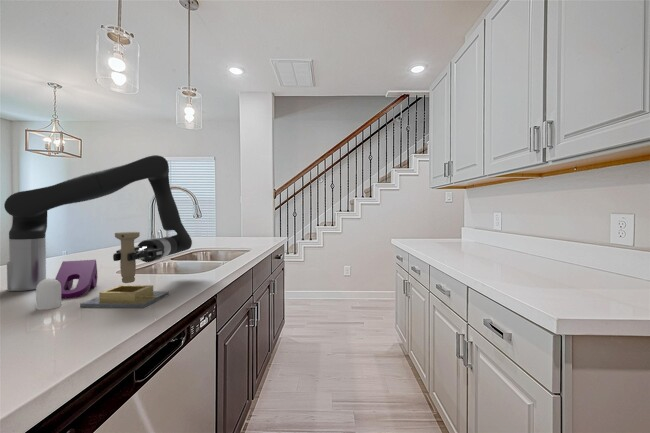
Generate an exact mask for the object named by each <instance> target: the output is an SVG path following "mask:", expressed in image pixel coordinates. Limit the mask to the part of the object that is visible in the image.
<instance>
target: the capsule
mask: <svg viewBox="0 0 650 433" xmlns="http://www.w3.org/2000/svg"><path fill="white" fill-rule="evenodd" d="M35 304H36V305H35V307H36V310H38V311H39V310H40V311H43V310H51V309H55V308H59V307H61V306H62V299H61V284H60V282H59V281H58V280H56V279H55V278H46V279H44V280H42V281H41V282H40V283H39V284H38V285H37V288H36V289H35Z"/></svg>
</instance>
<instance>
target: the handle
mask: <svg viewBox="0 0 650 433" xmlns="http://www.w3.org/2000/svg"><path fill="white" fill-rule="evenodd" d="M140 234H141V233H140V231H125V232H115V233H114V237H115V238H116V239H118V240H119V241H120V249H121V259H120V260H119V267H120V276H121V282H122V283H123V284H129V283H134V282H135V281H136V277H135V276H136V267H137V264H136V263H137V262H136V260H137V259H136V260H133V261H128V260H127V255H128V254H129V253H133V252H135V249H134V247H135V240H136V239H138V238H140Z"/></svg>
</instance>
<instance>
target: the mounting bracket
mask: <svg viewBox="0 0 650 433" xmlns="http://www.w3.org/2000/svg"><path fill="white" fill-rule="evenodd" d="M97 266H98V264H97V259H87V260H86V259H85V260H83V259H80V260H65V261H62V263H61V264H60V267H59V269H58V271H57V274H56V276H55V278H54V279H56V280H58V281H59V282H60V284H61V300H62V299H63V300H64V299H67V300H68V299H74V298H79V297H82V296H84V295H85V294H87V293H88V291H89V290H90V289H93V288H94V289H95V288H96V287H97V284H98V267H97ZM74 280H77V283H76V286H75V287H74V288H73V285H74V284H73V283H74ZM72 288H73V289H72Z"/></svg>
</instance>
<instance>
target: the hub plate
mask: <svg viewBox="0 0 650 433" xmlns="http://www.w3.org/2000/svg"><path fill="white" fill-rule="evenodd" d="M169 295H170V291H164V290H163V291H160V290H159V291H154V284H153V285H152V284H149V285H147V284H146V285H143V284H142V285H141V284H140V285H139V284H120V285H118V286H115V287H111V288H109V289H107V290H103V291H100V292H99V293H98V296H96V297H94V298H92V299H89V300H86V301H83V302H80V303H79V308H110V309H111V308H114V309H117V308H119V309H122V308H124V309H126V308H128V309H132V308H133V309H134V308H135V309H144V308H146V307H148V306H149V305H152V304H154V303H156V302H158V301H159V300H161V299H163V298H165V297H167V296H169Z"/></svg>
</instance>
